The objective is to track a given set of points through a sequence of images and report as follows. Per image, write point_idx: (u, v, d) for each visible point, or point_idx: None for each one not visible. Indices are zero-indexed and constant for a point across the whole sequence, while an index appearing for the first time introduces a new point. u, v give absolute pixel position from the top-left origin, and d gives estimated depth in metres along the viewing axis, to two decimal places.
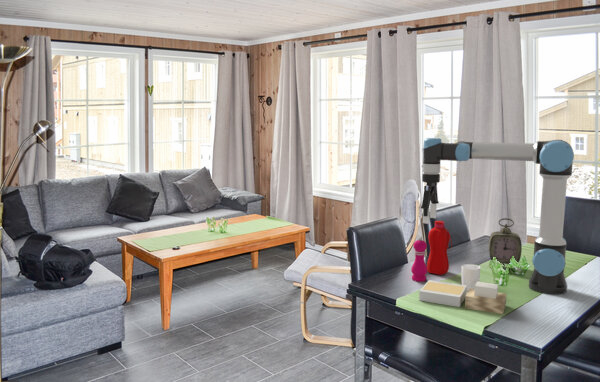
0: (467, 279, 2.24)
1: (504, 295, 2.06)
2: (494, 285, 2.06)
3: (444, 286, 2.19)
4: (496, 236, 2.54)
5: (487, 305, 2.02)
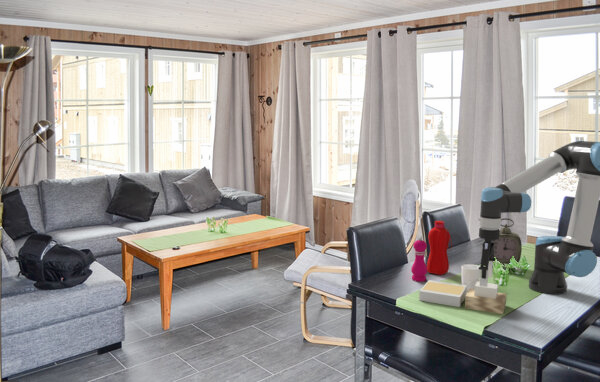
0: (467, 279, 2.24)
1: (504, 295, 2.06)
2: (494, 285, 2.05)
3: (444, 286, 2.19)
4: None
5: (487, 305, 2.02)
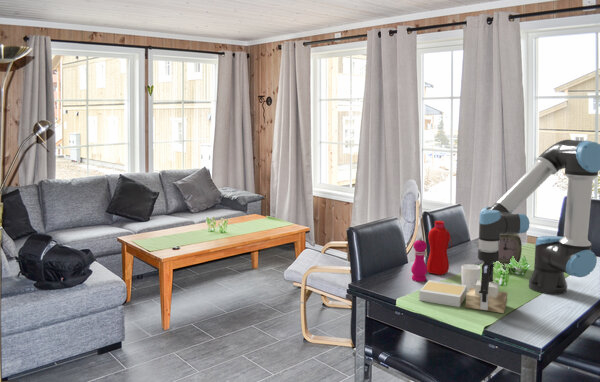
0: (467, 279, 2.24)
1: (505, 294, 2.06)
2: (495, 284, 2.05)
3: (444, 286, 2.19)
4: None
5: (488, 304, 2.02)
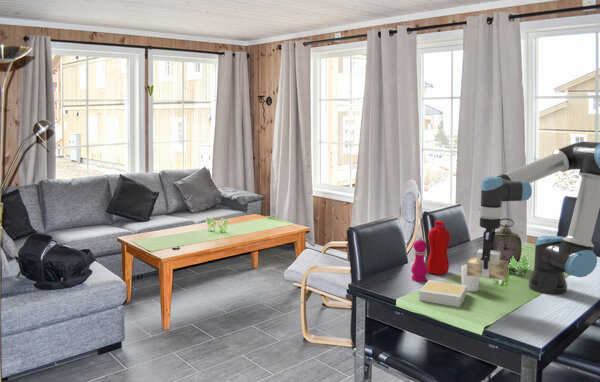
0: (467, 279, 2.24)
1: (506, 262, 2.04)
2: (496, 252, 2.03)
3: (444, 286, 2.19)
4: (496, 236, 2.54)
5: None
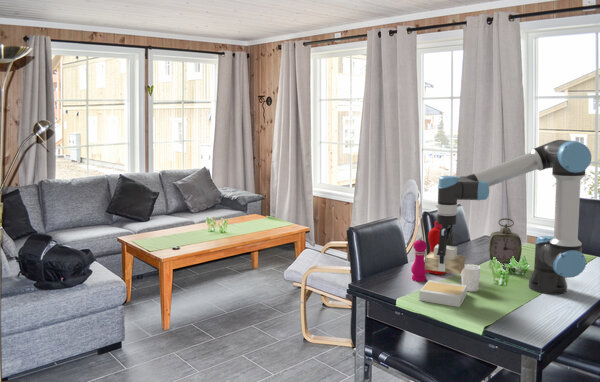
0: (467, 279, 2.24)
1: (462, 257, 2.14)
2: (453, 247, 2.14)
3: (444, 286, 2.19)
4: (496, 236, 2.54)
5: None
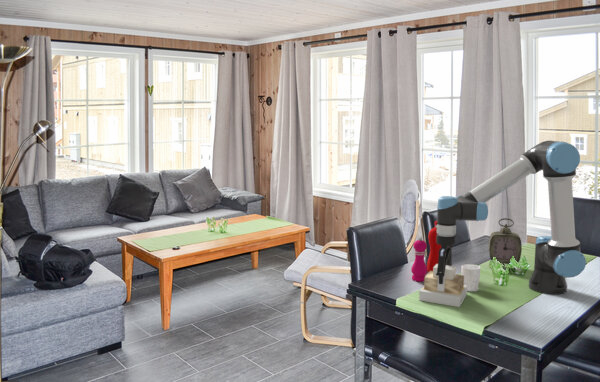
0: (467, 279, 2.24)
1: (461, 276, 2.16)
2: (452, 267, 2.15)
3: None
4: (496, 236, 2.54)
5: None
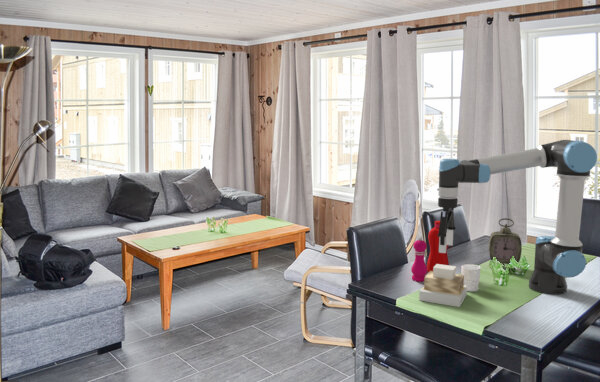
0: (467, 279, 2.24)
1: (461, 276, 2.16)
2: (452, 267, 2.15)
3: None
4: (496, 236, 2.54)
5: (444, 286, 2.12)
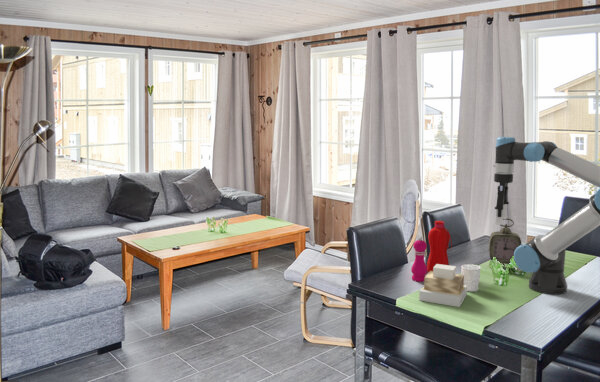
0: (467, 279, 2.24)
1: (461, 276, 2.16)
2: (452, 267, 2.15)
3: None
4: (496, 236, 2.54)
5: (444, 286, 2.12)
